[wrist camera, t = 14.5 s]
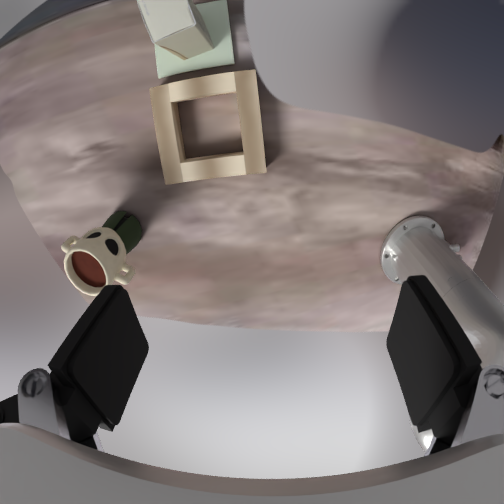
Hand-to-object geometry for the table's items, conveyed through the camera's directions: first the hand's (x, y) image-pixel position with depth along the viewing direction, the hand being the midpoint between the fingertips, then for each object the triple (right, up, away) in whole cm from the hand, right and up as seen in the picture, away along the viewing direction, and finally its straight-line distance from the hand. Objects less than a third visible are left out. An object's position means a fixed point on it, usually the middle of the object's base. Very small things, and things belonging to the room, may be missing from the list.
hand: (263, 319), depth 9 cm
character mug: (-20, +6, +32) cm, 38 cm away
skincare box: (-8, +29, +18) cm, 35 cm away
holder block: (-6, +19, +25) cm, 31 cm away
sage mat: (-8, +30, +18) cm, 36 cm away
